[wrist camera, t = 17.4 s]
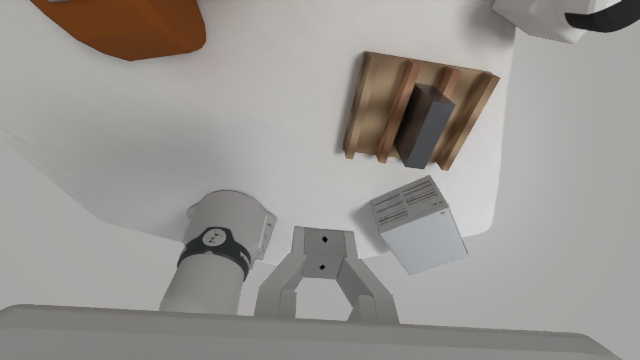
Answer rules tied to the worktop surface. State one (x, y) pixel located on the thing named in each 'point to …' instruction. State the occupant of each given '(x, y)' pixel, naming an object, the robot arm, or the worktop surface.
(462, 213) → the worktop surface
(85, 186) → the worktop surface
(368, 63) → the rack
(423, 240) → the supplement box
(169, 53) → the orange rounded block
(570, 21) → the container
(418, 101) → the block
